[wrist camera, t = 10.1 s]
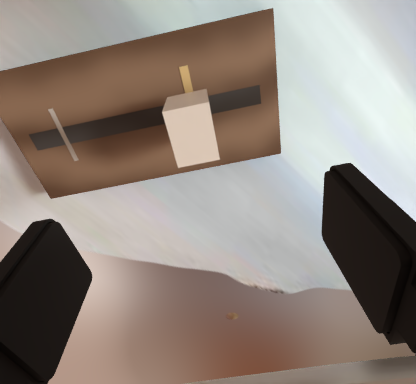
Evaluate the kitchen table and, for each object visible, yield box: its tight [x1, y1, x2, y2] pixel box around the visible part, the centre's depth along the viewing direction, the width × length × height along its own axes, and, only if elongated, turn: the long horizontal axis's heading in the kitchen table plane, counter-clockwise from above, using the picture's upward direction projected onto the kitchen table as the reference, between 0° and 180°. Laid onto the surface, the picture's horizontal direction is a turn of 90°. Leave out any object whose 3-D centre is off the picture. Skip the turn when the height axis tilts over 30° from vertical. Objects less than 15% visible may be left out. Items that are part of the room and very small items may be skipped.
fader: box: [162, 89, 220, 168], centre depth 20 cm, size 4×3×7 cm
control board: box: [0, 8, 281, 199], centre depth 25 cm, size 12×24×3 cm, turn 101°
